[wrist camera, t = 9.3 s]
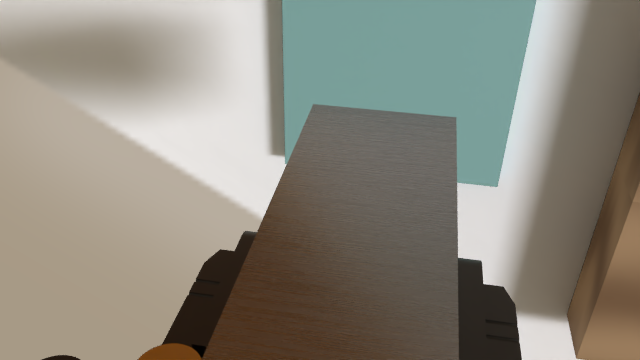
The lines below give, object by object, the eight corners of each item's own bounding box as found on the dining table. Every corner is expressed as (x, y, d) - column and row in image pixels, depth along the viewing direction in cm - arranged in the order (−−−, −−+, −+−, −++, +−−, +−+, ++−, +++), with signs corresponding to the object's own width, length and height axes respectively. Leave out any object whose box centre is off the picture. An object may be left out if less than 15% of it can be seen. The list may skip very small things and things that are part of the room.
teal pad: (284, -112, 24) (280, -109, 23) (553, -100, 22) (556, -96, 22) (288, 155, 30) (285, 163, 30) (496, 177, 29) (497, 186, 28)
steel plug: (313, 104, 17) (186, 394, 9) (456, 117, 17) (459, 440, 9) (312, 217, 20) (209, 534, 11) (439, 232, 19) (428, 579, 11)
